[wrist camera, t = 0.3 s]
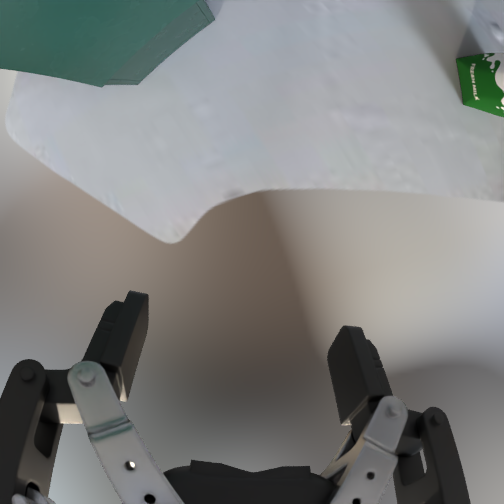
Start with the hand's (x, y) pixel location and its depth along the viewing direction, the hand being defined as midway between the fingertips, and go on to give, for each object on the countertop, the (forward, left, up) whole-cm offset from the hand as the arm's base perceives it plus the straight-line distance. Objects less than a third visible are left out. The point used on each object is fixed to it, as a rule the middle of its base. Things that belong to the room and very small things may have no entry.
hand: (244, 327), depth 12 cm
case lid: (-13, -15, -11) cm, 23 cm away
